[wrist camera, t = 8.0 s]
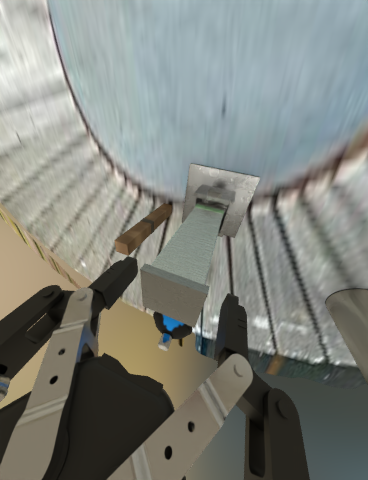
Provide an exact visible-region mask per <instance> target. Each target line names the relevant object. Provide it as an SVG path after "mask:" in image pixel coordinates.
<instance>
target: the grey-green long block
mask: <svg viewBox="0 0 368 480" xmlns="http://www.w3.org/2000/svg"><path fill="white" fill-rule="evenodd" d="M224 209H225V208H222V207H218V206H214V205H210V204H206V203H202V202H198V204H196V205H195V208H194V209H193V210H192V212H191V213H190V214H189V216H188V217H187V218H186V220H185V221H184V222H183V223H182V225H181V226H180V227H179V229H178V230H177V231H176V233H175V234H174V235H173V237H172V238H171V239H170V241H169V242H168V243H167V245H166V246H165V247H164V249H163V250H162V251H161V253H160V254H159V255H158V257H157V258H156V259H155V261H154V262H153V263H152V265H148V264H144V266H143V267H142V268H141V269H140V271H141V285H142V299H143V306H144V307H147V308H149V309H151V310H154V311H156V312H158V313H161V314H163V315H165V316H168V317H170V318H173V319H175V320H177V321H180V322H182V323H184V324H187V325H189V326H191V327H195V325H196V322H197V320H198V317H199V315H200V312H201V310H202V307H203V305H204V302H205V300H206V297H207V295H208V290H209V286H206V285H205V281H206V277H207V274H208V270H209V266H210V262H211V258H212V255H213V251H214V247H215V243H216V239H217V235H218V232H219V228H220V224H221V220H222V217H223V214H224Z"/></svg>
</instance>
